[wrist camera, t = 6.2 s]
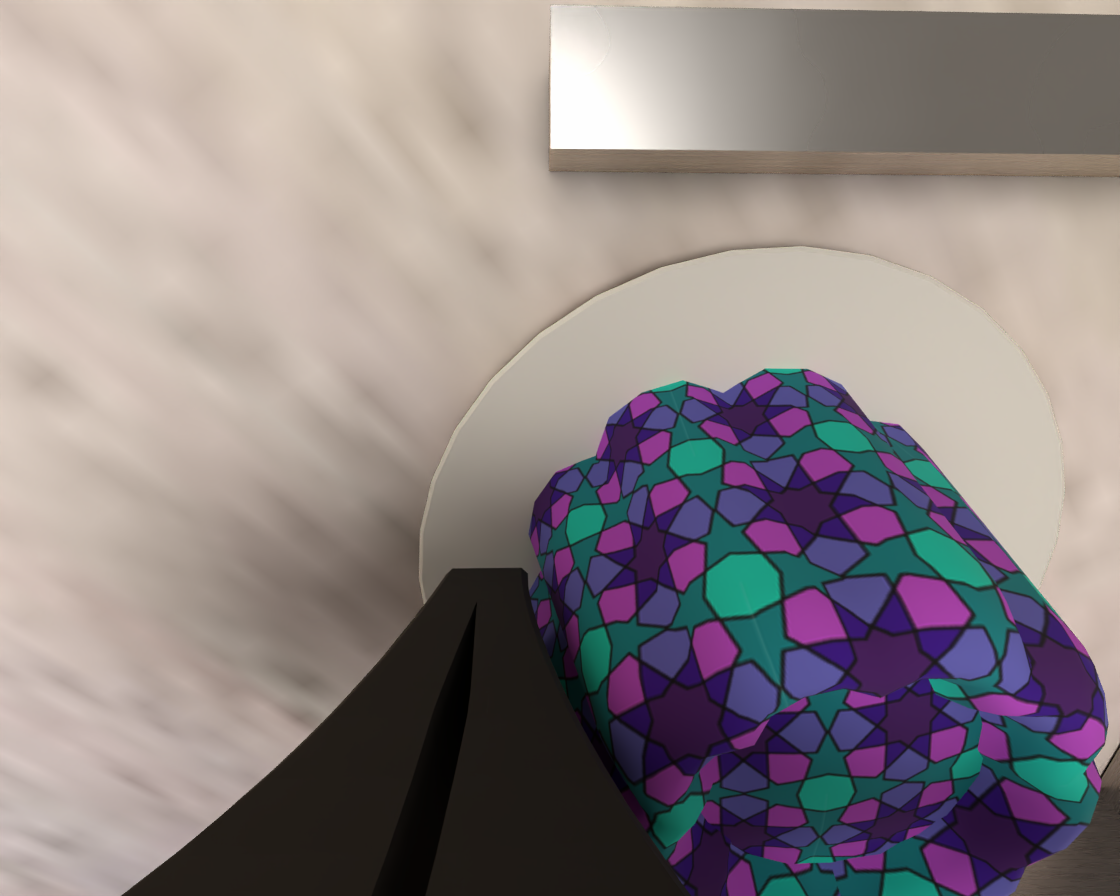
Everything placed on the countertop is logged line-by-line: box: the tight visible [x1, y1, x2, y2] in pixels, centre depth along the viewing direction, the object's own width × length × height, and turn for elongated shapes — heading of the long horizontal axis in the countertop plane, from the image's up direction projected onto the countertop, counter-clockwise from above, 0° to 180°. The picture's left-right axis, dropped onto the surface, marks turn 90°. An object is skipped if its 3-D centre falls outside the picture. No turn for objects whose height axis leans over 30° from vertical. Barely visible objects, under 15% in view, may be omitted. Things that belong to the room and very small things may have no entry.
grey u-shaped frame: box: [549, 5, 1120, 896], centre depth 10 cm, size 16×15×2 cm
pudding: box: [419, 246, 1108, 896], centre depth 8 cm, size 12×12×5 cm
